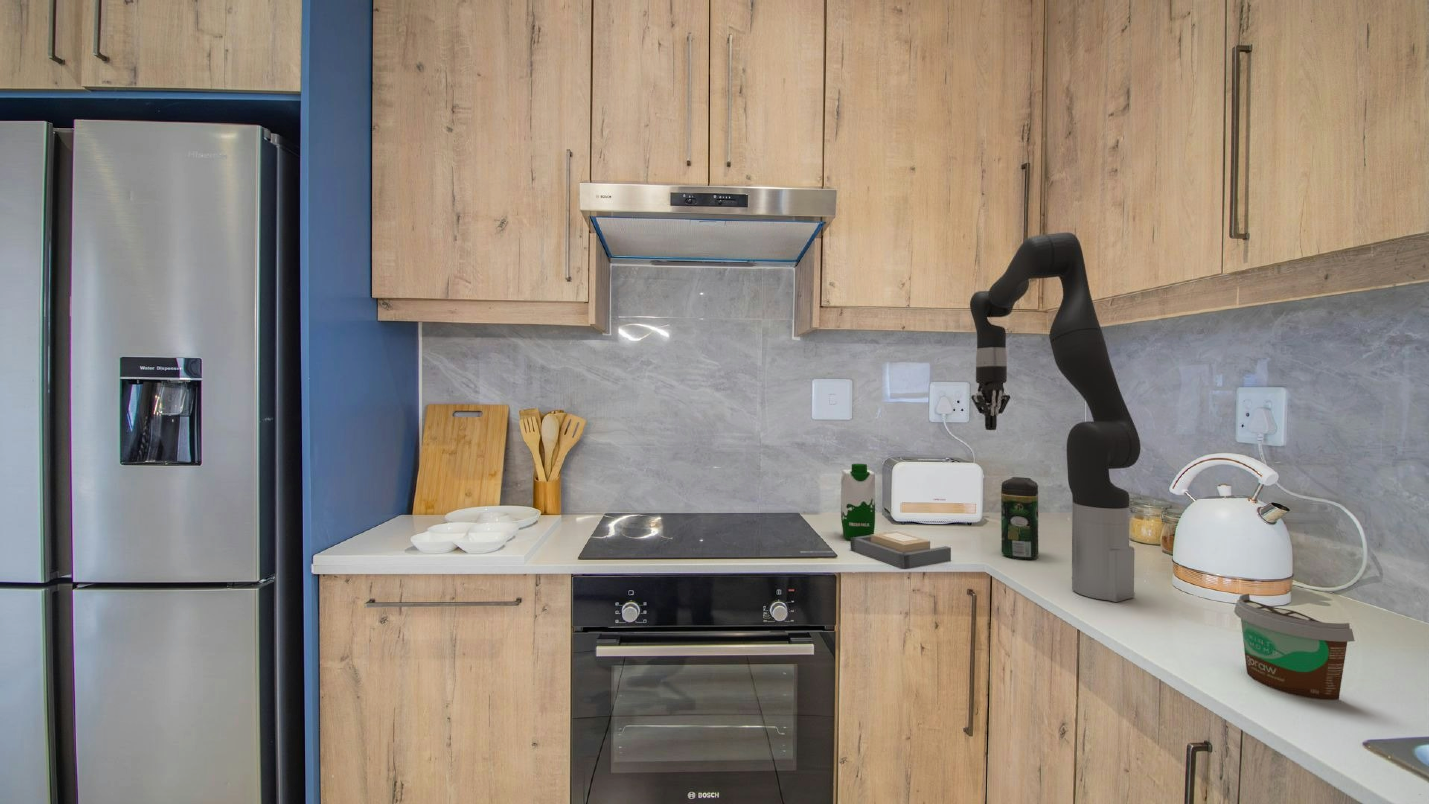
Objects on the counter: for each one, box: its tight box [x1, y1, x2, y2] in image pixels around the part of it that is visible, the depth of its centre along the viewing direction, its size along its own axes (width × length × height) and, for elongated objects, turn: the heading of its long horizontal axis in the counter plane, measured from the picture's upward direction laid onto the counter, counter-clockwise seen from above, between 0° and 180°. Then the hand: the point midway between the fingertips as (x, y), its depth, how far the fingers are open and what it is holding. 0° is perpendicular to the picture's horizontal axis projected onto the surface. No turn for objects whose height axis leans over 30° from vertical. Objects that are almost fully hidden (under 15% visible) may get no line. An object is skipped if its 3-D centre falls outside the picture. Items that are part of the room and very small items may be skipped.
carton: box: [871, 530, 931, 553], centre depth 139 cm, size 11×8×5 cm
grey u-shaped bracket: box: [850, 535, 952, 570], centre depth 141 cm, size 18×14×3 cm
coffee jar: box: [1000, 476, 1039, 560], centre depth 141 cm, size 10×8×19 cm
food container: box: [1233, 593, 1355, 701], centre depth 78 cm, size 12×6×10 cm, turn 13°
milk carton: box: [840, 463, 876, 542], centre depth 158 cm, size 9×9×20 cm
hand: (990, 429), depth 158 cm, fingers closed
